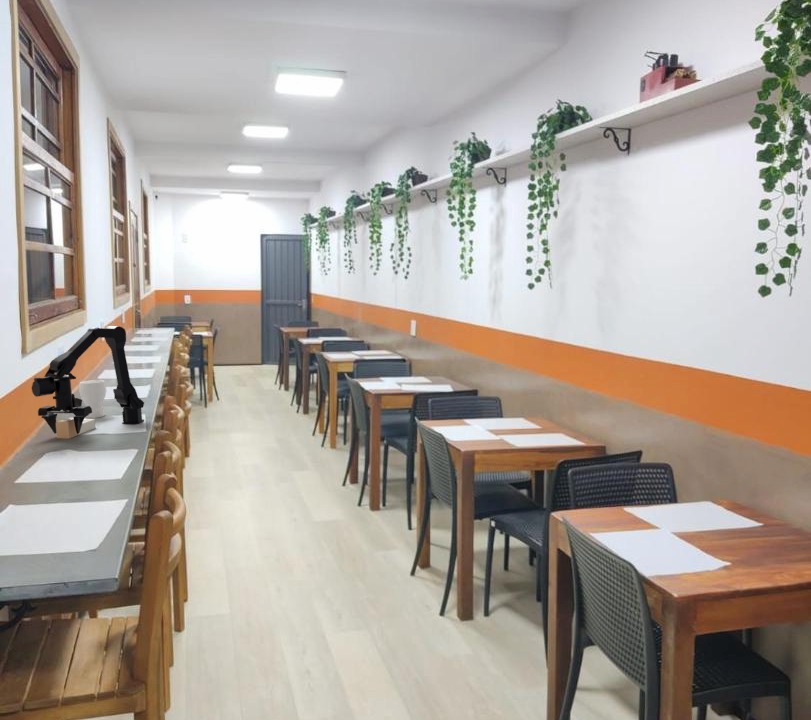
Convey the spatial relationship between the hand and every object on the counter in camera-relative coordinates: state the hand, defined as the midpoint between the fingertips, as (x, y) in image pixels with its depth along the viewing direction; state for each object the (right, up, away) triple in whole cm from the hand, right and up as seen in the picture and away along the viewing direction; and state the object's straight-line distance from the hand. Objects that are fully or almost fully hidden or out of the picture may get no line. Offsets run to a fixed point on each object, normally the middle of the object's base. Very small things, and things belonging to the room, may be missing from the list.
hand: (66, 433), depth 280 cm
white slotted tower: (+1, 0, +9) cm, 9 cm away
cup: (-5, +3, +38) cm, 39 cm away
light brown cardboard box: (0, -1, 0) cm, 1 cm away
